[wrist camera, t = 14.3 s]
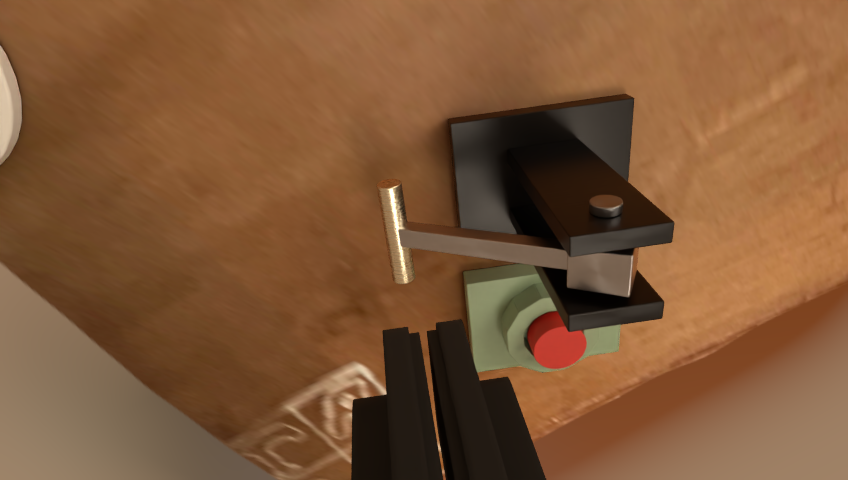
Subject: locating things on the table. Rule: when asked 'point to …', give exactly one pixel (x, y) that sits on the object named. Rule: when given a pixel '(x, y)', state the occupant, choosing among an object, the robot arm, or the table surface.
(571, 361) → the button
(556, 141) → the bracket
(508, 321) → the button box
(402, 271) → the lever
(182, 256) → the table surface
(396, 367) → the robot arm
